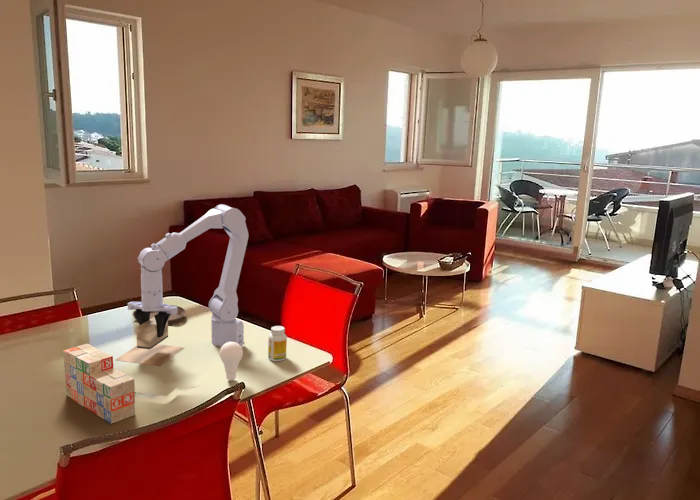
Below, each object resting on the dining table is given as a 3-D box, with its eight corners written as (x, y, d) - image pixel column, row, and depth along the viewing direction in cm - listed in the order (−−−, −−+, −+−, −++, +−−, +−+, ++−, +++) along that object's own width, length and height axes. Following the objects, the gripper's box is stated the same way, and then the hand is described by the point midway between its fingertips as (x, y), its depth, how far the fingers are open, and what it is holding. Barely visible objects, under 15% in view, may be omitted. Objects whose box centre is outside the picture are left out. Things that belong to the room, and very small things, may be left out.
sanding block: (168, 336, 167) (167, 317, 165) (149, 349, 157) (149, 329, 156) (155, 335, 167) (155, 316, 166) (137, 347, 158) (136, 327, 157)
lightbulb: (246, 378, 154) (247, 340, 151) (235, 387, 148) (235, 348, 146) (227, 374, 156) (227, 336, 153) (215, 383, 150) (214, 344, 148)
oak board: (184, 352, 169) (184, 347, 169) (160, 371, 156) (160, 365, 155) (142, 346, 172) (142, 342, 172) (115, 364, 158) (114, 359, 158)
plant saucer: (196, 317, 201) (196, 309, 201) (162, 332, 185) (162, 323, 185) (157, 309, 208) (156, 301, 207) (121, 323, 192) (120, 315, 191)
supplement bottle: (264, 359, 167) (264, 328, 165) (275, 353, 171) (275, 323, 169) (279, 363, 164) (280, 332, 162) (289, 357, 169) (290, 327, 167)
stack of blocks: (136, 415, 132) (134, 366, 130) (111, 425, 127) (108, 374, 125) (90, 387, 145) (87, 342, 142) (65, 395, 140) (62, 349, 137)
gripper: (120, 291, 157) (122, 337, 160) (168, 296, 154) (169, 343, 157) (134, 285, 164) (136, 329, 166) (180, 289, 161) (181, 334, 164)
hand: (153, 335), depth 162 cm, fingers closed on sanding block, 4 cm apart
